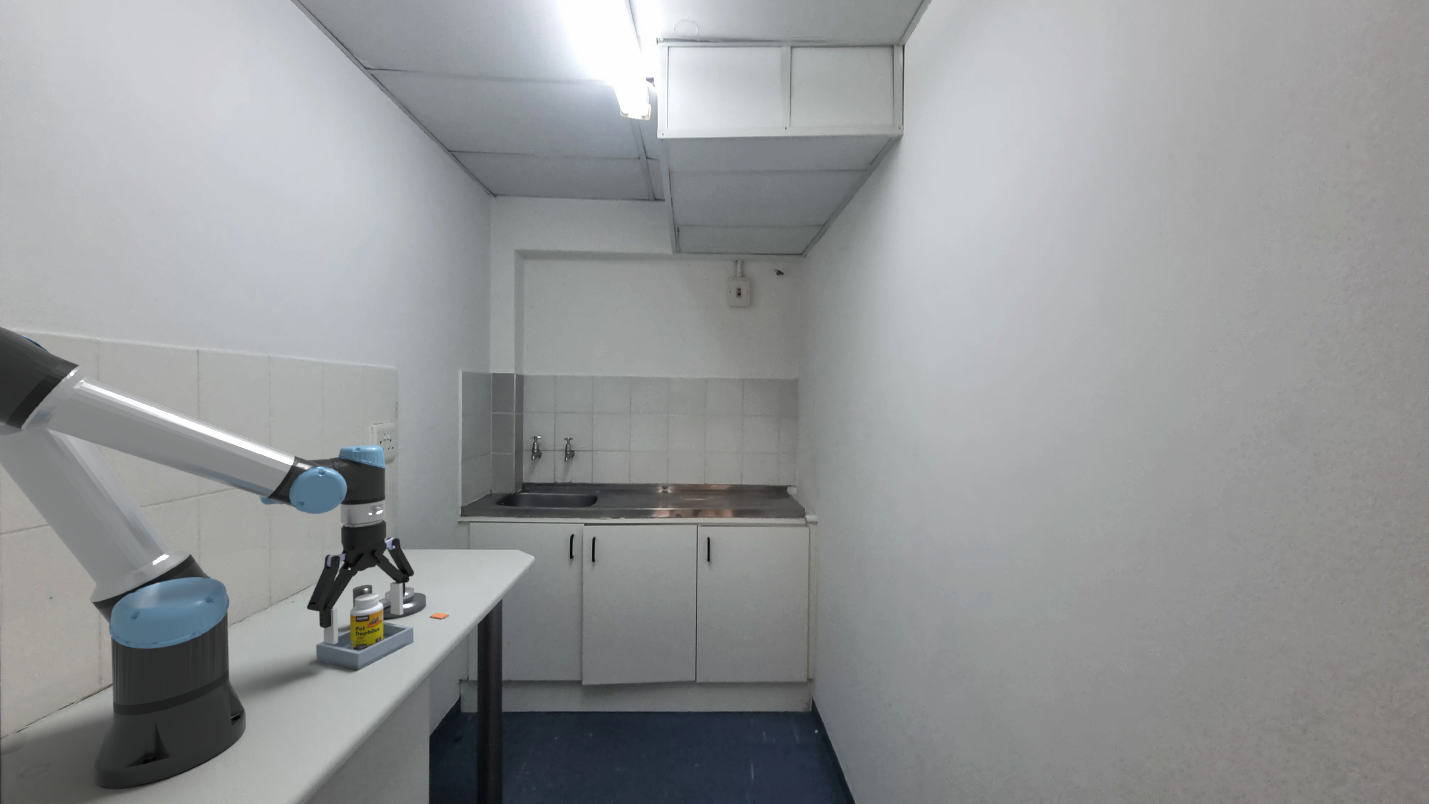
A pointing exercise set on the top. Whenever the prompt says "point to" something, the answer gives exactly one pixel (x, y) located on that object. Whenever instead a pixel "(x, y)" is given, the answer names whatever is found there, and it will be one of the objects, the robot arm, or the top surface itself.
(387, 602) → the crank
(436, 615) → the orange flat block
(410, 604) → the crank housing
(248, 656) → the top surface
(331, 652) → the tray
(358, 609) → the supplement bottle
